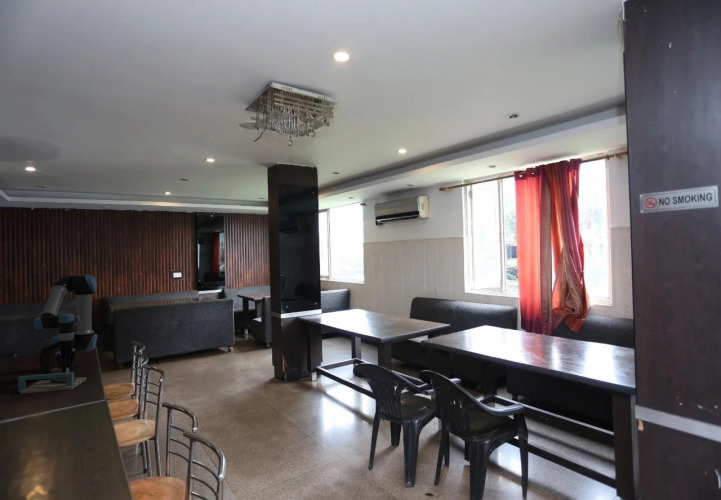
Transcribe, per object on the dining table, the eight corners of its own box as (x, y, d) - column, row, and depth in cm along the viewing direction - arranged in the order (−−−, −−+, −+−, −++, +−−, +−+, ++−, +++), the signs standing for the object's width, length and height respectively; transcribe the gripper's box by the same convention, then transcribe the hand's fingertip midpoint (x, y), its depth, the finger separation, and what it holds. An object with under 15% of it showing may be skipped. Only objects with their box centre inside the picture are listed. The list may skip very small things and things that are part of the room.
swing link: (47, 382, 235) (48, 377, 235) (54, 380, 239) (54, 375, 239) (70, 382, 234) (71, 377, 234) (76, 380, 238) (76, 375, 238)
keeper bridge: (20, 391, 225) (20, 376, 225) (73, 386, 232) (73, 372, 232) (17, 392, 223) (17, 377, 223) (71, 387, 230) (71, 373, 230)
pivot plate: (39, 383, 240) (39, 367, 240) (86, 379, 246) (86, 364, 247) (20, 393, 221) (20, 376, 221) (71, 389, 227) (72, 373, 227)
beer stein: (67, 375, 256) (65, 344, 257) (53, 380, 245) (51, 348, 246) (45, 376, 257) (44, 346, 258) (30, 381, 247) (29, 349, 247)
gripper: (71, 337, 247) (71, 375, 246) (50, 341, 234) (50, 381, 234) (80, 337, 245) (80, 375, 244) (60, 342, 232) (60, 382, 232)
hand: (65, 378), depth 239 cm, fingers closed
